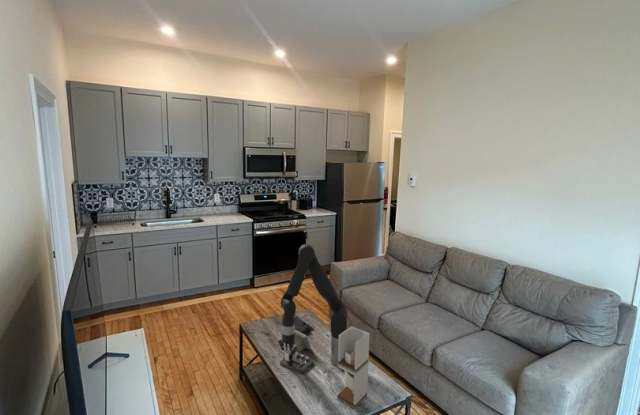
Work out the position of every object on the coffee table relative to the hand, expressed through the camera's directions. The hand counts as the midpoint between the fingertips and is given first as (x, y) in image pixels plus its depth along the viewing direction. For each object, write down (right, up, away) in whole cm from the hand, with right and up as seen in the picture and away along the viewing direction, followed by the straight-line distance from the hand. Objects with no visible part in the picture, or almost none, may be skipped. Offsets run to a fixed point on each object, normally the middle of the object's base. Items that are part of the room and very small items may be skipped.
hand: (288, 358), depth 198 cm
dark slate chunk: (+3, +3, +41) cm, 41 cm away
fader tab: (0, -1, 0) cm, 1 cm away
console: (+5, -3, 0) cm, 6 cm away
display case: (+35, -8, -26) cm, 45 cm away
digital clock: (+5, 0, +17) cm, 18 cm away
